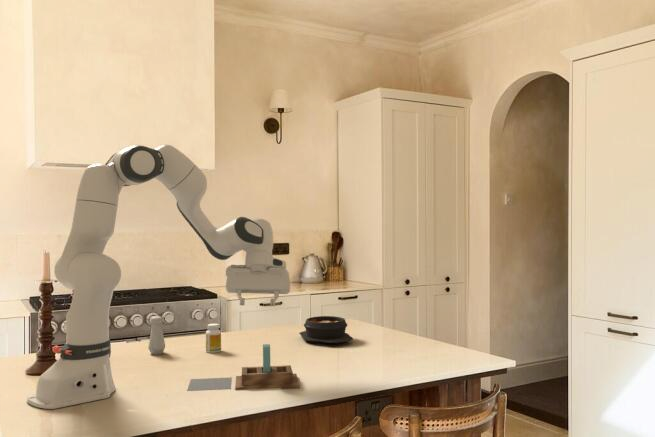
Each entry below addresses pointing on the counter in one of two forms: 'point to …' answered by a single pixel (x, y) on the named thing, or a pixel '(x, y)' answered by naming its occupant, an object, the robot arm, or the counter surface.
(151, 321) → the salt shaker
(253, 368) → the rack
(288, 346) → the counter surface
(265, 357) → the teal rectangular block
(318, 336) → the casserole
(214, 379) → the mat
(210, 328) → the supplement bottle
